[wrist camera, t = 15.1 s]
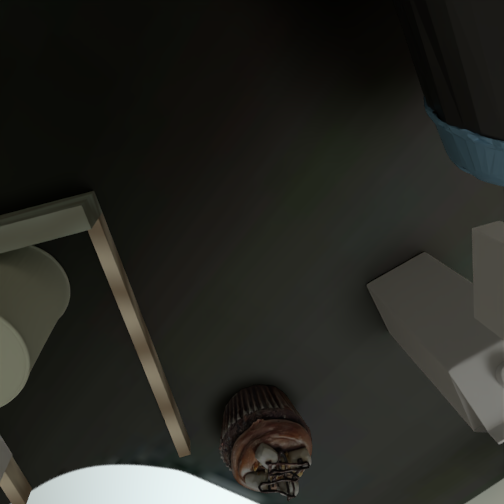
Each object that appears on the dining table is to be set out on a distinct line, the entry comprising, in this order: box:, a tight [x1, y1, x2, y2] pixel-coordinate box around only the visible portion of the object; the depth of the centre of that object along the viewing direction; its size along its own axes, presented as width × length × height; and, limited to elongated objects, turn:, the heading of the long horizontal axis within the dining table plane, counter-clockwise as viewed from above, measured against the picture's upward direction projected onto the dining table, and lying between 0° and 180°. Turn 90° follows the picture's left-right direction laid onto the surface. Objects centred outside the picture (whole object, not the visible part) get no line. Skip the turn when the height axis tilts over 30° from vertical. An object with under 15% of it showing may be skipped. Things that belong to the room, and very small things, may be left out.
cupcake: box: [219, 385, 312, 501], centre depth 44 cm, size 10×10×10 cm
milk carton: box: [366, 252, 504, 444], centre depth 37 cm, size 7×7×19 cm
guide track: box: [0, 191, 190, 504], centre depth 39 cm, size 30×19×5 cm, turn 13°
